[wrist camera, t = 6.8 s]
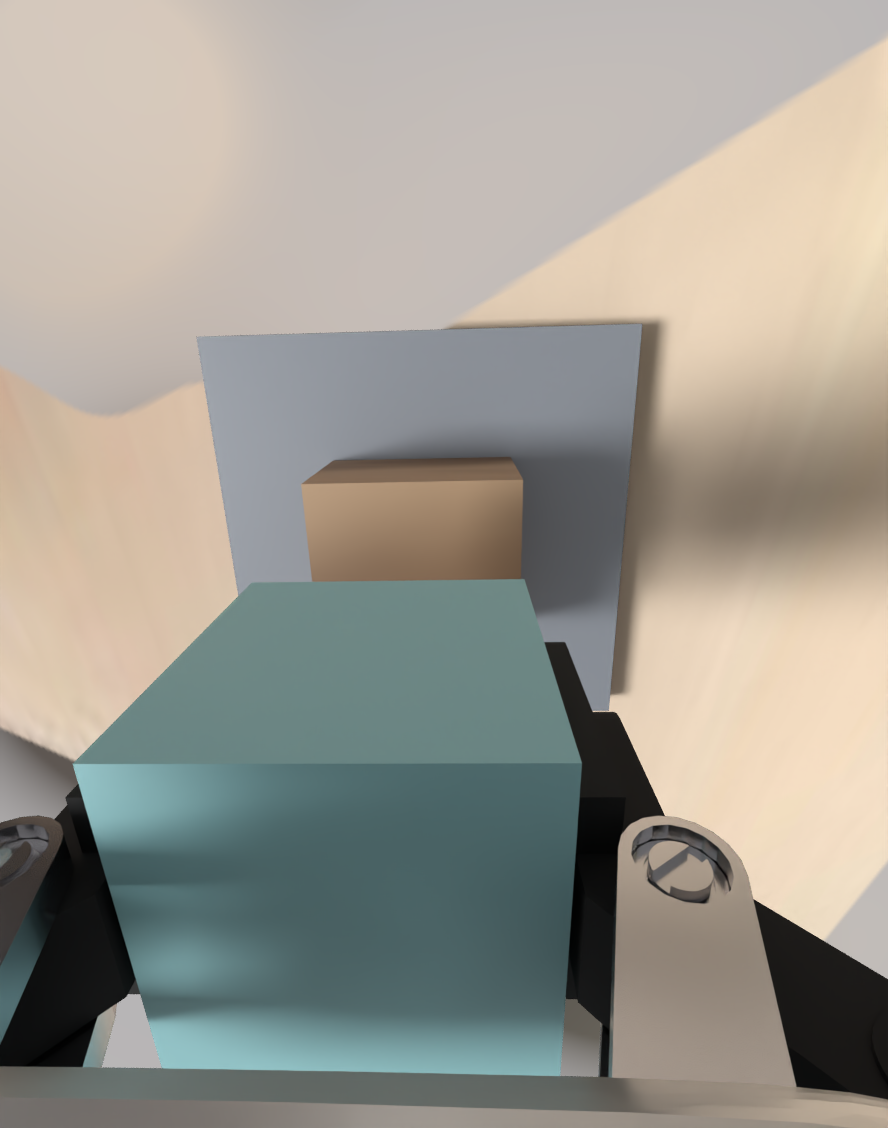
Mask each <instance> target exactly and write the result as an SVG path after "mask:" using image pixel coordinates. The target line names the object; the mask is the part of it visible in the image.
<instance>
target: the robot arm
mask: <svg viewBox="0 0 888 1128" xmlns="http://www.w3.org/2000/svg"><path fill="white" fill-rule="evenodd" d="M544 643H545V647H546V650H547V653H548V656H549V659H550V663H551V666H552V669H553V672H554V675H555V679H556V682H557V685H558V688H559V691H560V695H561V698H562V701H563V704H564V707H565V711H566V714H567V717H568V720H569V723H570V727H571V730H572V733H573V736H574V739H575V743H576V746H577V749H578V752H579V755H580V759H581V762H582V769H581V784H580V798H579V812H578V827H577V841H576V855H575V869H574V884H573V898H572V912H571V927H570V941H569V955H568V970H567V984H566V999H578V1003H580V1004H581V1005H582V1006H583V1007H584V1008H585V1009H586V1010H587V1011H589V1012H590V1013H591V1014H592V1015H593V1016H594V1017H595V1018H596V1019H598V1020H599V1021H600V1022H601V1027H600V1048H599V1070H598V1077H576V1076H574V1077H573V1076H531V1075H487V1074H442V1073H397V1072H349V1071H290V1070H231V1069H166V1068H101V1067H102V1063H103V1060H104V1056H105V1053H106V1049H107V1046H108V1042H109V1038H110V1035H111V1031H112V1027H113V1024H114V1020H115V1015H116V1006H117V1003H118V1002H119V1001H121V1000H122V999H124V998H125V997H126V996H127V995H128V994H140V991H139V988H138V985H137V981H136V978H135V974H134V971H133V968H132V964H131V961H130V957H129V954H128V951H127V947H126V944H125V940H124V937H123V934H122V930H121V927H120V923H119V920H118V916H117V913H116V910H115V906H114V903H113V899H112V896H111V893H110V889H109V886H108V882H107V879H106V876H105V872H104V869H103V865H102V862H101V859H100V855H99V852H98V848H97V845H96V842H95V838H94V835H93V831H92V828H91V825H90V821H89V818H88V814H87V811H86V808H85V804H84V801H83V797H82V794H81V791H80V787H79V784H78V785H77V786H76V787H75V788H74V789H73V790H72V791H71V792H70V793H69V794H68V795H67V797H66V801H67V806H66V807H65V808H64V809H63V810H62V811H61V813H60V814H59V815H58V816H57V817H56V818H55V819H53V818H50V817H44V816H27V817H19V818H15V819H12V820H8V821H4V822H1V823H0V1128H888V979H887V978H885V977H883V976H881V975H880V974H878V973H876V972H874V971H873V970H871V969H869V968H868V967H866V966H865V965H863V964H861V963H860V962H858V961H856V960H855V959H853V958H851V957H850V956H848V955H846V954H845V953H843V952H841V951H839V950H838V949H836V948H834V947H833V946H831V945H829V944H828V943H826V942H824V941H823V940H821V939H819V938H818V937H816V936H814V935H813V934H811V933H809V932H808V931H806V930H804V929H803V928H801V927H799V926H798V925H796V924H794V923H792V922H791V921H789V920H787V919H786V918H784V917H782V916H781V915H779V914H777V913H776V912H774V911H772V910H771V909H769V908H767V907H766V906H764V905H762V904H761V903H759V902H757V901H756V900H754V899H753V896H752V892H751V887H750V883H749V879H748V875H747V872H746V870H745V868H744V865H743V863H742V861H741V859H740V858H739V856H738V855H737V854H736V853H735V852H734V850H733V849H732V848H731V847H730V845H729V844H727V843H726V842H725V841H724V840H722V839H721V838H720V837H719V836H717V835H716V834H715V833H714V832H712V831H710V830H708V829H706V828H704V827H702V826H700V825H698V824H696V823H694V822H691V821H687V820H684V819H681V818H677V817H668V816H665V815H664V813H663V811H662V809H661V806H660V804H659V802H658V800H657V798H656V796H655V793H654V791H653V789H652V787H651V785H650V783H649V780H648V778H647V776H646V774H645V772H644V770H643V767H642V765H641V763H640V761H639V759H638V757H637V754H636V752H635V750H634V748H633V746H632V744H631V741H630V739H629V737H628V735H627V733H626V731H625V728H624V726H623V724H622V722H621V720H620V718H619V716H618V715H617V713H615V712H592V709H591V706H590V704H589V701H588V699H587V696H586V694H585V691H584V689H583V686H582V683H581V681H580V678H579V676H578V673H577V671H576V668H575V665H574V663H573V660H572V658H571V655H570V653H569V650H568V648H567V645H566V643H565V642H544Z"/></svg>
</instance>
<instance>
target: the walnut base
mask: <svg viewBox="0 0 888 1128" xmlns="http://www.w3.org/2000/svg"><path fill="white" fill-rule="evenodd" d="M301 488H302V497H303V506H304V514H305V523H306V532H307V541H308V550H309V559H310V568H311V576H312V582H336V581H416V580H495V579H521V553H522V509H523V479H522V477H521V475H520V473H519V471H518V470H517V468H516V466H515V464H514V462H513V461H512V459H511V457H479V458H432V459H385V460H337V461H332V462H330V463H329V464H328V465H326V466H325V467H324V468H322V469H321V470H320V471H318V472H317V473H316V474H314V475H313V476H311V477H310V478H309V479H307V480H306V481H305V482H303V483H302V484H301Z"/></svg>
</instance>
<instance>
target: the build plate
mask: <svg viewBox="0 0 888 1128" xmlns="http://www.w3.org/2000/svg"><path fill="white" fill-rule="evenodd" d="M641 334H642V324H615V325H581V326H547V327H513V328H479V329H444V330H414V331H413V330H410V331H379V332H342V333H308V334H274V335H240V336H207V337H197V343H198V349H199V355H200V362H201V367H202V374H203V380H204V386H205V392H206V399H207V405H208V411H209V417H210V423H211V429H212V436H213V442H214V448H215V454H216V460H217V466H218V473H219V479H220V485H221V491H222V497H223V503H224V510H225V516H226V522H227V528H228V534H229V540H230V547H231V553H232V559H233V565H234V571H235V577H236V584H237V590H238V596H239V595H240V594H241V593H242V592H243V591H244V590H245V589H246V588H247V587H248V586H249V585H250V584H251V583H257V582H312V576H311V568H310V559H309V550H308V541H307V532H306V523H305V514H304V506H303V497H302V488H301V484H302V483H303V482H305V481H306V480H307V479H309V478H310V477H311V476H313V475H314V474H316V473H317V472H318V471H320V470H321V469H322V468H324V467H325V466H326V465H328V464H329V463H330V462H332V461H337V460H385V459H432V458H479V457H511V459H512V461H513V462H514V464H515V466H516V468H517V470H518V471H519V473H520V475H521V477H522V479H523V509H522V553H521V579H525V583H526V586H527V589H528V592H529V595H530V599H531V602H532V605H533V608H534V611H535V615H536V618H537V621H538V624H539V627H540V631H541V634H542V637H543V640H544V642H565V643H566V645H567V648H568V650H569V653H570V655H571V658H572V660H573V663H574V665H575V668H576V671H577V673H578V676H579V678H580V681H581V683H582V686H583V689H584V691H585V694H586V696H587V699H588V701H589V704H590V706H591V709H592V711H609V701H610V690H611V678H612V667H613V655H614V644H615V632H616V621H617V609H618V598H619V586H620V575H621V563H622V552H623V540H624V529H625V517H626V506H627V494H628V483H629V471H630V460H631V448H632V437H633V425H634V414H635V402H636V391H637V379H638V368H639V357H640V345H641Z"/></svg>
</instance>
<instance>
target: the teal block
mask: <svg viewBox="0 0 888 1128" xmlns="http://www.w3.org/2000/svg"><path fill="white" fill-rule="evenodd" d="M73 767H74V770H75V774H76V777H77V780H78V784H79V787H80V791H81V794H82V797H83V801H84V804H85V808H86V811H87V814H88V818H89V821H90V825H91V828H92V831H93V835H94V838H95V842H96V845H97V848H98V852H99V855H100V859H101V862H102V865H103V869H104V872H105V876H106V879H107V882H108V886H109V889H110V893H111V896H112V899H113V903H114V906H115V910H116V913H117V916H118V920H119V923H120V927H121V930H122V934H123V937H124V940H125V944H126V947H127V951H128V954H129V957H130V961H131V964H132V968H133V971H134V974H135V978H136V981H137V985H138V988H139V991H140V995H141V998H142V1002H143V1005H144V1008H145V1012H146V1015H147V1018H148V1022H149V1025H150V1029H151V1032H152V1036H153V1039H154V1042H155V1045H156V1049H157V1052H158V1056H159V1059H160V1062H161V1066H162V1068H166V1069H231V1070H290V1071H349V1072H397V1073H442V1074H487V1075H531V1076H560V1070H561V1055H562V1041H563V1027H564V1012H565V998H566V984H567V970H568V955H569V941H570V927H571V912H572V898H573V884H574V869H575V855H576V841H577V827H578V812H579V798H580V784H581V769H582V762H581V759H580V755H579V752H578V749H577V746H576V743H575V739H574V736H573V733H572V730H571V727H570V723H569V720H568V717H567V714H566V711H565V707H564V704H563V701H562V698H561V695H560V691H559V688H558V685H557V682H556V679H555V675H554V672H553V669H552V666H551V663H550V659H549V656H548V653H547V650H546V647H545V643H544V640H543V637H542V634H541V631H540V627H539V624H538V621H537V618H536V615H535V611H534V608H533V605H532V602H531V599H530V595H529V592H528V589H527V586H526V583H525V579H495V580H416V581H336V582H257V583H251V584H250V585H249V586H248V587H247V588H246V589H245V590H244V591H243V592H242V593H241V594H240V595H239V596H238V597H237V598H236V599H235V600H234V601H233V602H232V603H231V604H230V605H229V606H228V607H227V608H226V609H225V610H224V611H223V612H222V613H221V614H220V615H219V616H218V617H217V618H216V619H215V620H214V621H213V622H212V623H211V624H210V626H209V627H208V628H207V629H206V630H205V631H204V632H203V633H202V634H201V635H200V636H199V637H198V638H197V639H196V640H195V641H194V642H193V643H192V644H191V645H190V646H189V647H188V648H187V649H186V650H185V651H184V652H183V653H182V654H181V655H180V656H179V657H178V658H177V659H176V660H175V661H174V662H173V663H172V664H171V665H170V666H169V667H168V668H167V669H166V670H165V671H164V672H163V673H162V674H161V675H160V676H159V677H158V678H157V679H156V680H155V681H154V682H153V683H152V684H151V685H150V686H149V687H148V688H147V689H146V690H145V691H144V692H143V693H142V694H141V695H140V696H139V697H138V698H137V699H136V700H135V701H134V702H133V703H132V705H131V706H130V707H129V708H128V709H127V710H126V711H125V712H124V713H123V714H122V715H121V716H120V717H119V718H118V719H117V720H116V721H115V722H114V723H113V724H112V725H111V726H110V727H109V728H108V729H107V730H106V731H105V732H104V733H103V734H102V735H101V736H100V737H99V738H98V739H97V740H96V741H95V742H94V743H93V744H92V745H91V746H90V747H89V748H88V749H87V750H86V751H85V752H84V753H83V754H82V755H81V756H80V757H79V758H78V759H77V760H76V761H75V762H74V763H73Z"/></svg>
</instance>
